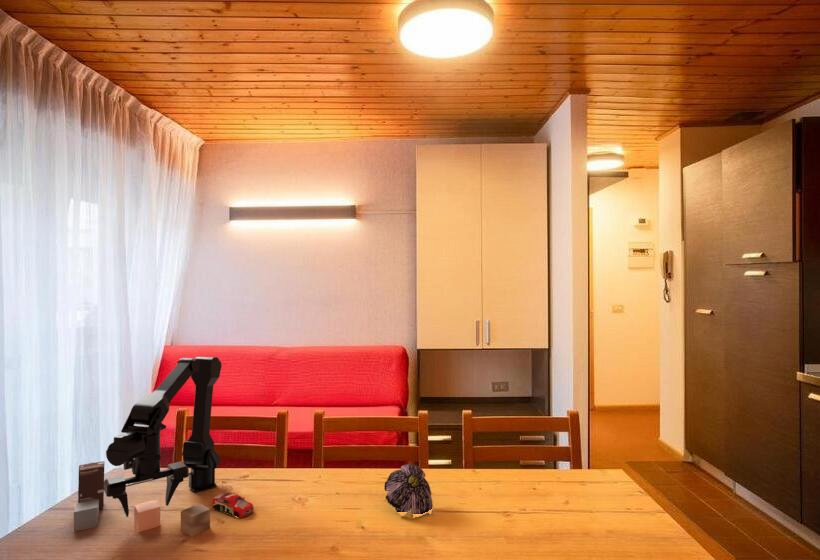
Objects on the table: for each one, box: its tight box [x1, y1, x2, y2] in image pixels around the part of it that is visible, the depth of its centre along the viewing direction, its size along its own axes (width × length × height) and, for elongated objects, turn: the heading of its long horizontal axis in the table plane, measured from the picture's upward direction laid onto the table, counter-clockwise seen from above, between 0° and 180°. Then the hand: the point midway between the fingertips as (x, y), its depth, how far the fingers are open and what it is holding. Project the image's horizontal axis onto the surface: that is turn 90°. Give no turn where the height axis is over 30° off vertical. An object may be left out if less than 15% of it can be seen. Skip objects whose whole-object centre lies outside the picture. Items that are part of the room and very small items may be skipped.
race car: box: [211, 492, 255, 518], centre depth 131 cm, size 13×5×4 cm, turn 60°
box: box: [77, 461, 105, 510], centre depth 131 cm, size 6×4×12 cm
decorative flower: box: [383, 463, 434, 515], centre depth 134 cm, size 14×12×15 cm
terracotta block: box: [133, 499, 161, 533], centre depth 123 cm, size 5×5×5 cm
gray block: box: [73, 499, 100, 532], centre depth 123 cm, size 5×5×5 cm
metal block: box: [180, 503, 211, 537], centre depth 121 cm, size 5×5×5 cm
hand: (147, 510), depth 123 cm, fingers open, 9 cm apart
